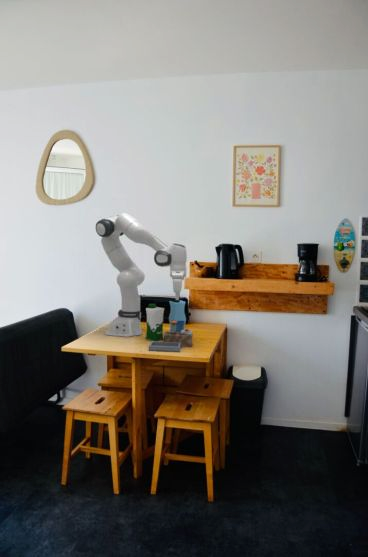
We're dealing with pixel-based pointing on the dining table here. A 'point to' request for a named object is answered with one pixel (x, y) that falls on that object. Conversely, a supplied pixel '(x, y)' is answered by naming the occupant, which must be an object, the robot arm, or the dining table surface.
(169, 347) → the tray
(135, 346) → the dining table surface
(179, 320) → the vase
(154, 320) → the milk carton
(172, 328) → the lock pin
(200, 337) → the dining table surface
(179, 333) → the tensioner block
